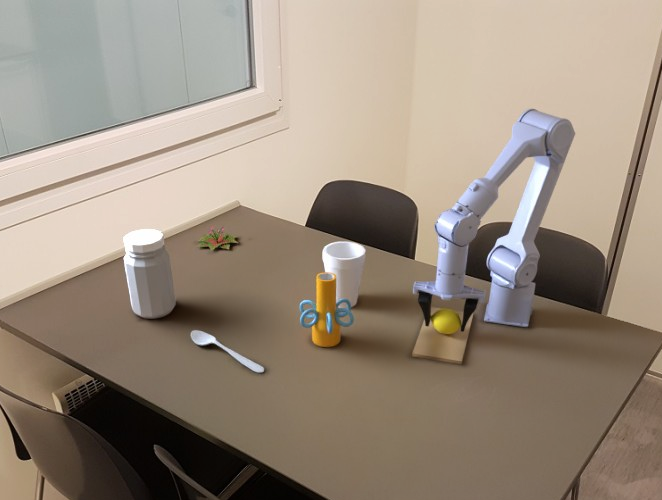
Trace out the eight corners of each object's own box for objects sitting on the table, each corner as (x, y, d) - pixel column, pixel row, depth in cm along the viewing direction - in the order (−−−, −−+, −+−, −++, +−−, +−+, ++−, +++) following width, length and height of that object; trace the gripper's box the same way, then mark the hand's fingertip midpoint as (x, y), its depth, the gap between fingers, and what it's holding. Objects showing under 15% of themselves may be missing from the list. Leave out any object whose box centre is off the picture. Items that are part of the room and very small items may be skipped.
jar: (123, 315, 156) (110, 241, 146) (148, 296, 163) (137, 224, 154) (160, 324, 153) (149, 249, 143) (184, 303, 160) (175, 231, 151)
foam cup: (359, 313, 156) (361, 261, 149) (319, 309, 158) (319, 257, 151) (366, 293, 164) (368, 243, 157) (327, 290, 166) (327, 239, 159)
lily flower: (189, 251, 184) (187, 235, 182) (203, 233, 194) (201, 217, 192) (233, 254, 182) (231, 238, 180) (244, 236, 192) (243, 220, 190)
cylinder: (362, 334, 149) (364, 271, 141) (343, 359, 141) (344, 294, 133) (311, 322, 153) (310, 260, 145) (289, 345, 145) (287, 281, 137)
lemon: (465, 330, 149) (467, 309, 146) (455, 342, 145) (457, 320, 142) (434, 322, 152) (436, 300, 149) (424, 333, 148) (426, 311, 145)
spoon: (200, 332, 150) (199, 326, 149) (270, 367, 138) (270, 360, 138) (185, 340, 147) (184, 334, 146) (255, 377, 136) (255, 370, 135)
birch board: (473, 316, 155) (473, 312, 155) (461, 364, 139) (462, 361, 139) (428, 309, 158) (428, 306, 158) (412, 356, 142) (412, 353, 141)
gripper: (411, 272, 139) (407, 330, 146) (485, 282, 135) (477, 341, 142) (418, 258, 144) (413, 314, 152) (489, 266, 141) (481, 324, 148)
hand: (445, 326), depth 147 cm, fingers closed on lemon, 7 cm apart
